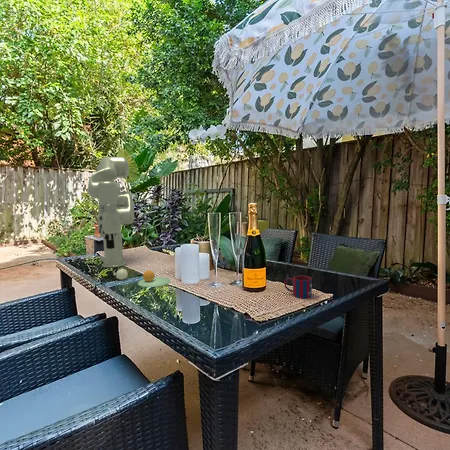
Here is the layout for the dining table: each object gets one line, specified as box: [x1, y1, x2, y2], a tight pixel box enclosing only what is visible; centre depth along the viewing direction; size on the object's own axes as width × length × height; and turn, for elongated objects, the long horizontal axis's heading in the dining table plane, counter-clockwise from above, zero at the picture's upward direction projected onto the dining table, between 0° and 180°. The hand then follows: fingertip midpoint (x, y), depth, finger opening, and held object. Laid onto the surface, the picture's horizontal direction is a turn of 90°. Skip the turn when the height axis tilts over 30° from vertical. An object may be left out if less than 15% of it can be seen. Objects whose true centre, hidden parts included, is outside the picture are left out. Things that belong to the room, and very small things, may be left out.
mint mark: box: [137, 276, 171, 288], centre depth 136 cm, size 14×14×1 cm
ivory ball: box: [115, 268, 129, 281], centre depth 141 cm, size 5×5×5 cm
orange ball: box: [142, 270, 156, 282], centre depth 137 cm, size 5×5×5 cm
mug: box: [283, 275, 313, 300], centre depth 115 cm, size 7×10×7 cm
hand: (110, 248), depth 143 cm, fingers closed
